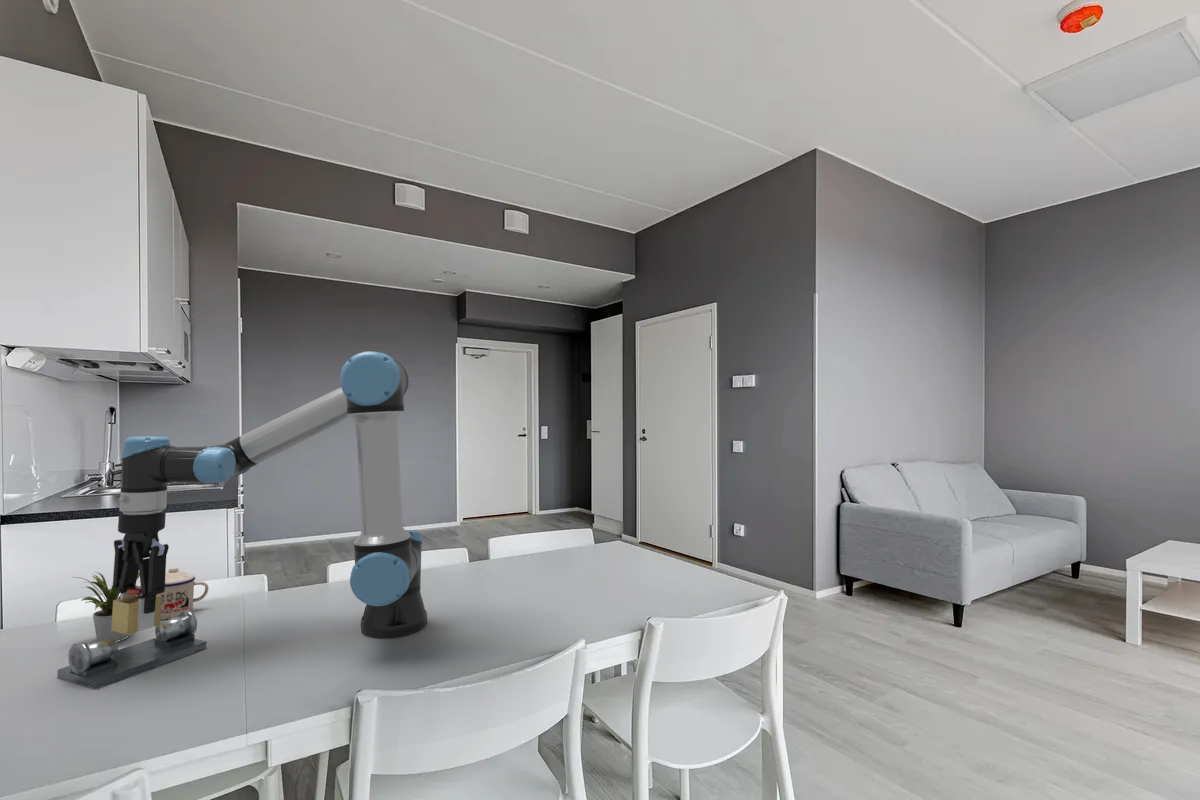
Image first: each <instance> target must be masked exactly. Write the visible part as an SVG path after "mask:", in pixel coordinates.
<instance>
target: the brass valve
mask: <svg viewBox="0 0 1200 800" xmlns="http://www.w3.org/2000/svg"><path fill="white" fill-rule="evenodd" d="M136 586H137V587H132V588H129V589H127V594H129V595H133V596H129V597H125V598H121V599H117V600H113V611H112V626H111V631H114V632H118V633H122V634H126V635H128V636H129V635H130V634H133V633H137V632H139V631H137V616H138V596H142V593H141V585H136ZM161 601H162V595H157V596H156V604H155V615H154V627H155V628H156V626H158V625H160V622H161V620H160V618H161ZM154 627H153V628H154Z"/></svg>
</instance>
